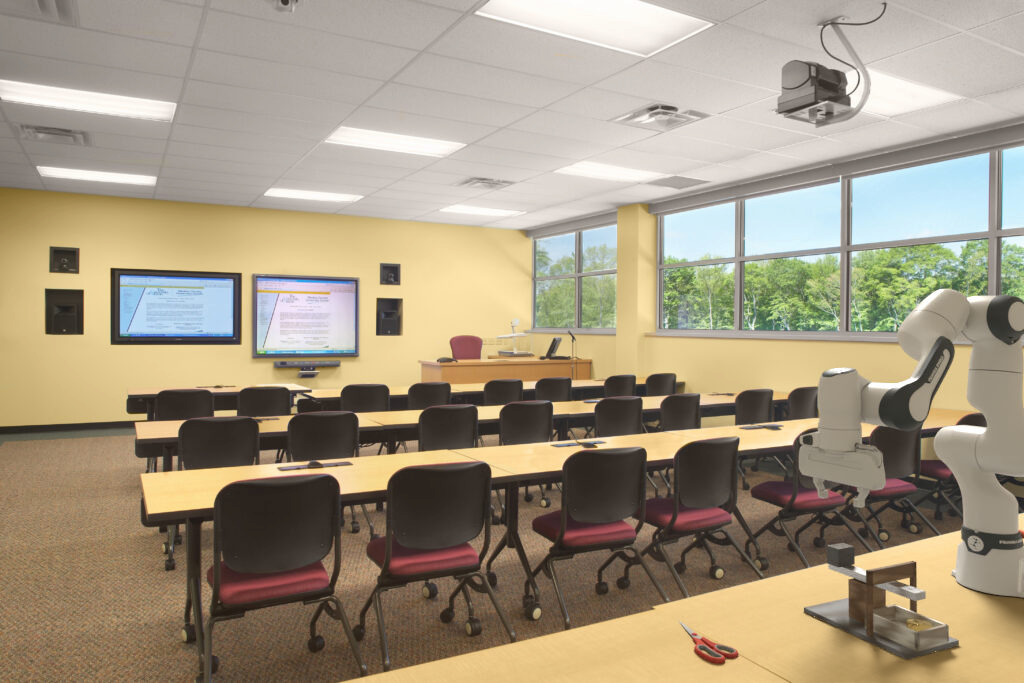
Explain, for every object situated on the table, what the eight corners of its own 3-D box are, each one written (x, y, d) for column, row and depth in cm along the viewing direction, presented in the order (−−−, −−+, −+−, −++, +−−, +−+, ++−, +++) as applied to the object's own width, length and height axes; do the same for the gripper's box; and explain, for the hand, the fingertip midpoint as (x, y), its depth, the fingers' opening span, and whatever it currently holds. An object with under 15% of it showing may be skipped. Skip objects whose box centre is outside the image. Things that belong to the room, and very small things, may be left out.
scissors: (678, 618, 145) (678, 612, 145) (745, 660, 126) (745, 653, 126) (649, 624, 142) (648, 617, 142) (713, 668, 123) (713, 660, 123)
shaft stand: (803, 612, 147) (803, 549, 147) (851, 601, 153) (851, 540, 153) (907, 660, 125) (906, 585, 125) (958, 645, 131) (958, 574, 131)
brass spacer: (938, 626, 129) (938, 642, 129) (918, 617, 133) (918, 632, 133) (920, 629, 128) (921, 645, 128) (901, 620, 132) (901, 635, 132)
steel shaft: (825, 569, 148) (825, 544, 148) (841, 566, 150) (841, 542, 150) (911, 601, 129) (911, 573, 129) (929, 597, 131) (928, 570, 131)
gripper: (892, 445, 139) (893, 511, 139) (813, 434, 158) (814, 491, 158) (871, 448, 136) (872, 514, 136) (793, 435, 155) (794, 494, 155)
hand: (840, 502), depth 147 cm, fingers open, 8 cm apart
